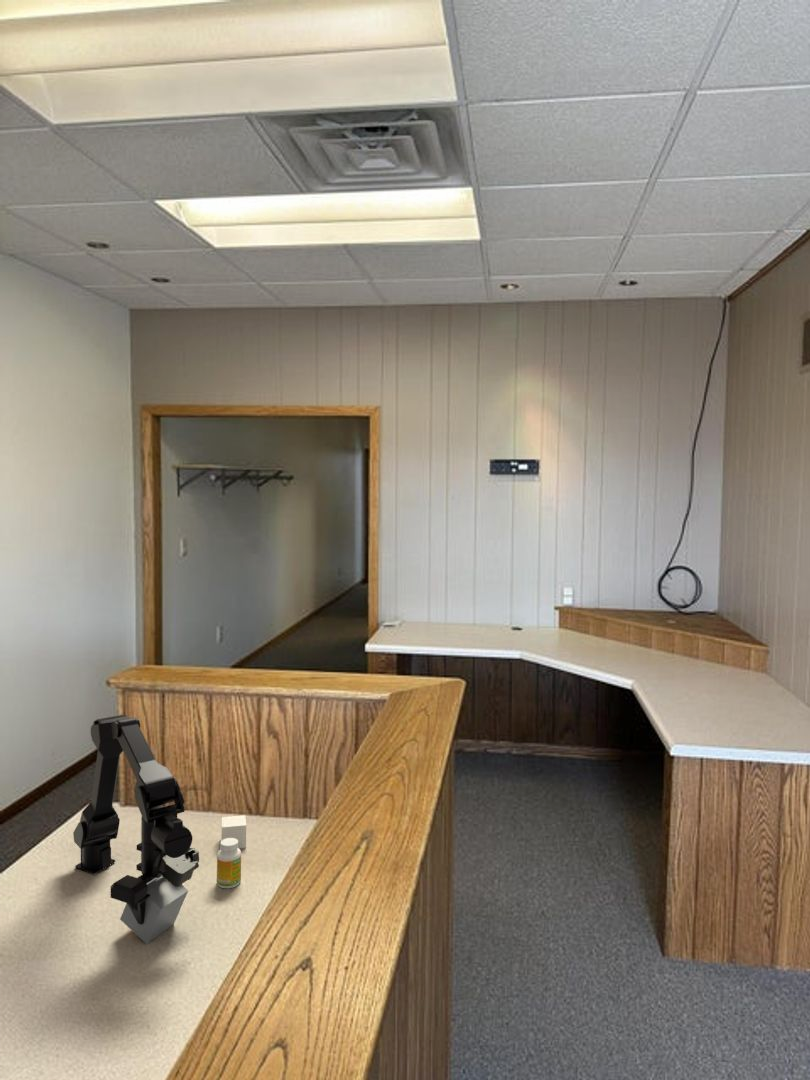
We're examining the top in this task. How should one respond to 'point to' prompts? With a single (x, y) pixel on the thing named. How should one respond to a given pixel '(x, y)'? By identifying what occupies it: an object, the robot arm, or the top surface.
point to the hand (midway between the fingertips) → (155, 913)
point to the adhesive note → (234, 829)
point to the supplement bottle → (229, 864)
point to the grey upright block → (157, 909)
